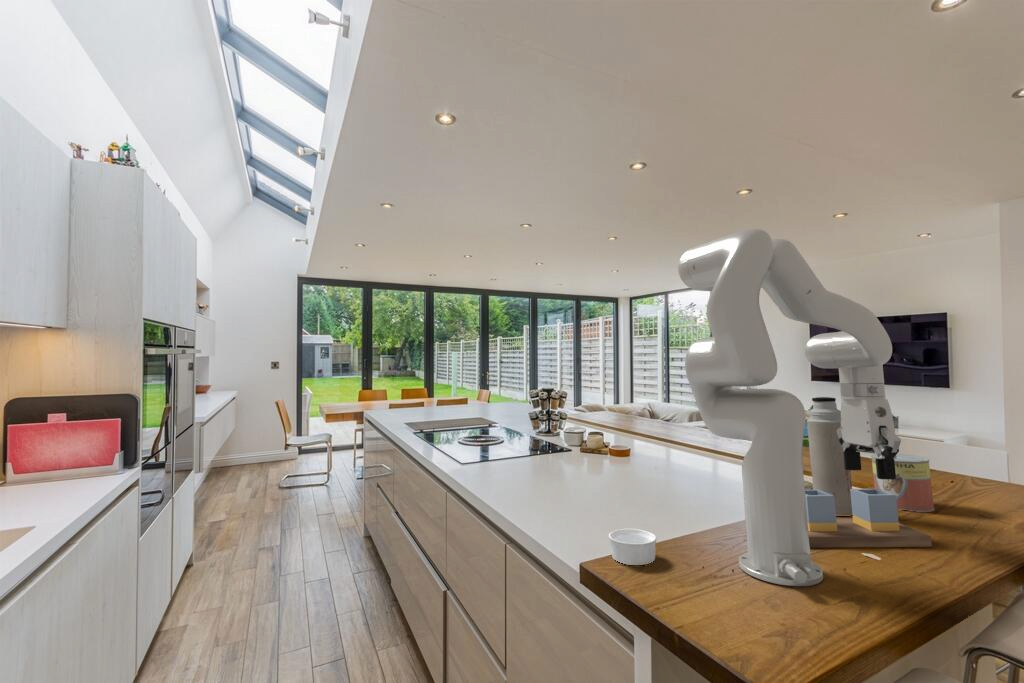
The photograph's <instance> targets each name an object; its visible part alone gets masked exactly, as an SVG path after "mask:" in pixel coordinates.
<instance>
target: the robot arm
mask: <svg viewBox="0 0 1024 683" xmlns="http://www.w3.org/2000/svg"><path fill="white" fill-rule="evenodd" d="M677 270H678V275H679V278H680V280H681V281H682V283H683V284H684V285H685V286H687V287H688V288H690V289H691V290H695V291H699V292H701V291H702V292H710V295H709V298H708V300H707V306H706V319H707V321H708V325H709V329H710V333H711V335H712V336H710V337H705V338H700V339H697V340H696V341H694V342H693V343H691V345H690V346H689V347H688V348H687V351H686V353H685V354H686V355H685V359H684V367H685V368H684V370H685V374H686V377H687V381H688V383H689V387H690V389H691V392H692V395H693V397H694V400H695V403H696V405H697V408H698V411H699V414H700V417H701V419H702V422H703V424H704V425H705V427H706V428H707V430H708V431H710V433H711V434H713V435H715V436H717V437H719V438H726V439H730V440H731V439H733V440H742V441H748V442H751V445H750V446H749V449H748V450H747V451H746V453H745V455H744V458H743V460H742V463H741V476H742V489H743V490H742V491H743V503H744V504H743V505H744V516H745V517H744V518H745V530H746V532H745V533H746V543H747V552H744V553H742V554H741V555H740V556H739V557H738V565H739V568H741V570H742V571H743V572H745V573H746V574H748V575H749V576H750V577H754V578H755V579H758V580H762V581H763V582H767V583H771V584H775V585H776V584H777V585H781V586H788V587H809V586H814V585H817V584H819V583H821V582H822V581H823V579H824V573H823V569H822V568H821V566H819V565H818V564H817V563H815V562H813V561H812V559H811V547H810V545H809V533H808V522H807V510H806V498H805V490H806V488H805V478H804V464H803V463H804V462H803V447H804V446H803V444H804V435H805V428H806V427H805V426H806V421H807V420H806V410H805V407H804V404H803V403H802V401H801V400H800V399H799V397H797V396H796V395H794V394H793V393H791V392H789V391H785V390H783V389H777V388H744V387H757V386H762V385H766V384H768V383H771V382H772V381H773V380H775V378H776V376H777V374H778V361H777V357H776V353H775V350H774V347H773V345H772V344H773V343H772V340H771V338H770V335H769V332H768V329H767V326H766V323H765V320H764V317H763V313H762V310H761V306H760V296H761V294H760V293H761V289H763V291H764V292H765V293H766V294H767V295H768V296H769V298H770V299H771V301H772V302H773V303H774V304H775V306H776V307H777V308H778V310H779V312H780V313H781V314H782V315H783V316H784V317H786V318H787V319H789V320H793V321H796V322H800V323H805V324H811V325H816V326H823V327H826V328H827V327H828V328H832V329H836V330H839V331H836V332H826V333H819V334H817V335H813V336H812V337H810V338H809V340H808V341H807V342H806V343H805V347H804V353H805V354H804V355H805V358H806V359H807V361H808V362H809V363H810V364H811V365H812V366H814V367H817V368H820V369H838V376H839V388H840V399H841V402H840V411H841V427H840V428H839V429H837V434H838V437H839V442H840V444H841V445H842V447H841V449H842V451H843V454H844V467H845V469H846V470H850V471H861V470H862V459H861V451H858V450H859V448H861V447H865V448H869V449H871V448H872V450H873V451H874V453H875V454H876V455H877V456H878V458H876V470H877V478H878V479H896V472H895V461H894V459H896V458H897V456H896V454H899V452H900V445H901V442H902V439H901V438H900V437H899V436H898V435H897V433H896V429H895V422H894V419H893V418H894V415H893V412H892V409H891V405H890V403H889V400H888V399H887V398H886V388H885V379H884V378H885V377H884V376H885V375H884V367H883V365H884V364H886V363H887V362H889V361H890V359H891V357H892V354H893V344H892V342H891V341H892V340H891V338H890V336H889V334H888V332H887V330H886V329H885V327H884V325H883V324H882V323H881V321H880V320H879V319H878V317H877V316H876V315H875V313H874V312H872V311H871V310H870V309H869V308H867V307H866V306H864V305H862V304H860V303H858V302H856V301H854V300H853V299H850V298H847V297H845V296H843V295H841V294H837V293H836V292H835V293H834V292H831V291H829V290H827V289H826V288H825V286H824V285H823V284H822V282H821V280H820V279H819V278H818V276H816V274H815V272H814V271H813V270H812V268H811V266H810V265H809V263H808V262H807V261H806V259H805V258H804V257H803V255H802V254H801V253H800V251H799V250H798V248H797V247H796V246H795V244H793V242H791V241H790V240H788V239H784V238H771V235H770V234H769V233H768V232H767V231H766V230H763V229H760V228H749V229H744V230H740V231H736V232H731V233H730V234H727V235H725V236H721V237H718V238H715V239H713V240H709V241H708V242H705V243H701V244H698V245H696V246H693V247H690V248H689V249H687V250H686V251H684V253H682V255H681V256H680V258H679V260H678V264H677ZM732 387H736V389H735V388H732ZM737 387H739V388H737ZM740 387H743V388H740Z"/></svg>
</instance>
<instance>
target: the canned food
mask: <svg viewBox="0 0 1024 683" xmlns="http://www.w3.org/2000/svg"><path fill="white" fill-rule="evenodd" d="M896 456H897V458H896V459H894V461H895V472H896V479H878V478H877V470H876V458H878V456H877V455H876V453H875V454H872V455H871V456H870V457H871V464H872V473H873V474H872V475H873V483H874V485H873V487H874V489H879V490H882V491H885V492H888V493H891V494H894V495H896V500H897V508H899V509H904V510H910V511H916V512H915V513H928V512H934V511H935V510H936V509H935V504H934V498H933V489H932V487H933V486H932V478H931V477H932V476H931V469H930V459H929V458H927V457H923V456H919V455H910V454H900V453H897V454H896Z"/></svg>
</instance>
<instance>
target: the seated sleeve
mask: <svg viewBox="0 0 1024 683" xmlns="http://www.w3.org/2000/svg"><path fill="white" fill-rule="evenodd" d="M805 498H806V510H807V522H808V531H837V521H836V518H837V517H836V510H835V499H834V496H833V495H831V494H828V493H826V492H823V491H821V490H818V489H814V490H813V489H805Z"/></svg>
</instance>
